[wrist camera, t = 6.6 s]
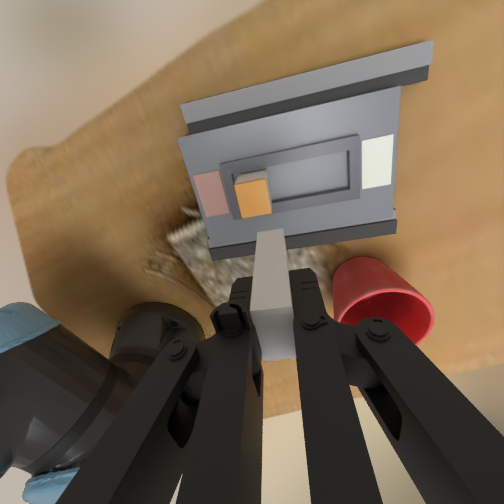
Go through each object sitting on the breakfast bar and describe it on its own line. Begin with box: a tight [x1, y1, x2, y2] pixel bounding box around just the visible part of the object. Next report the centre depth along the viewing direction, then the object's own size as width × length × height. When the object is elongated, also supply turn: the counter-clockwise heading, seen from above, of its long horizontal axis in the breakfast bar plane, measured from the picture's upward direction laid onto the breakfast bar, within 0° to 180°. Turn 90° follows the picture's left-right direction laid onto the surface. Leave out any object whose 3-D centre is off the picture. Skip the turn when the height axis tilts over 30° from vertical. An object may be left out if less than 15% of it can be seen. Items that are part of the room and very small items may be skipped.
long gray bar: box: [207, 208, 397, 261], centre depth 33 cm, size 24×3×2 cm, turn 102°
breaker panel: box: [177, 86, 401, 246], centre depth 29 cm, size 22×13×4 cm, turn 102°
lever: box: [234, 169, 272, 218], centre depth 26 cm, size 3×3×5 cm
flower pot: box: [333, 256, 434, 346], centre depth 33 cm, size 11×11×10 cm
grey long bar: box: [180, 40, 434, 135], centre depth 26 cm, size 24×3×2 cm, turn 102°
